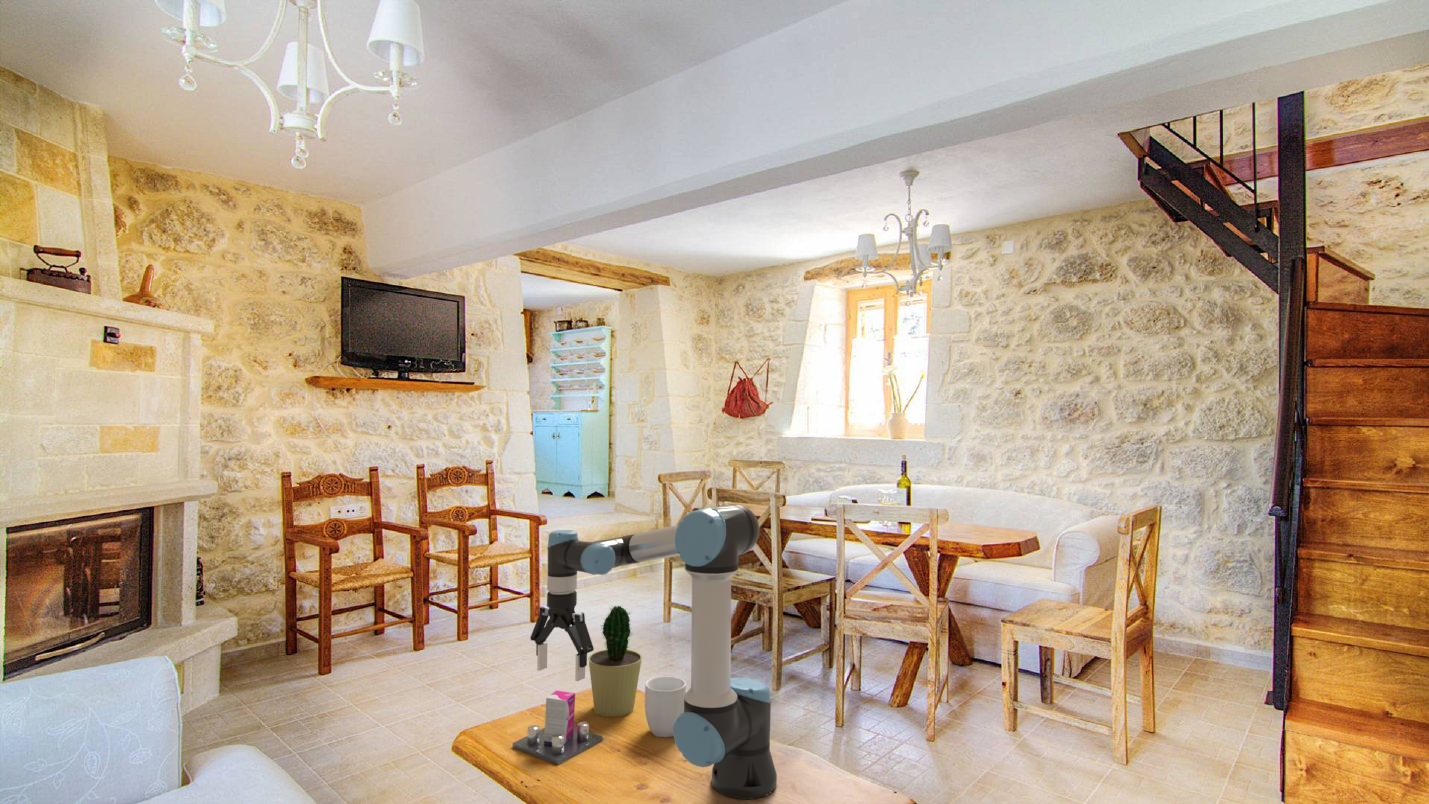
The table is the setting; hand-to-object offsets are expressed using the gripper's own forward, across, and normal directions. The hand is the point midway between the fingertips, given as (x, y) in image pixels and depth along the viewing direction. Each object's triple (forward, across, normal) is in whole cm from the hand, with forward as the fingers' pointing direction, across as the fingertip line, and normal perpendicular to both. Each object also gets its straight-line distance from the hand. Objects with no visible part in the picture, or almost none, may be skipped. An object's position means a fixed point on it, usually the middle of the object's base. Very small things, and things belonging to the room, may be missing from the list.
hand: (560, 674), depth 181 cm
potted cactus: (+18, +4, -25) cm, 31 cm away
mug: (+18, -18, -22) cm, 34 cm away
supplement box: (+17, 0, 0) cm, 17 cm away
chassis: (+18, +1, 0) cm, 18 cm away
